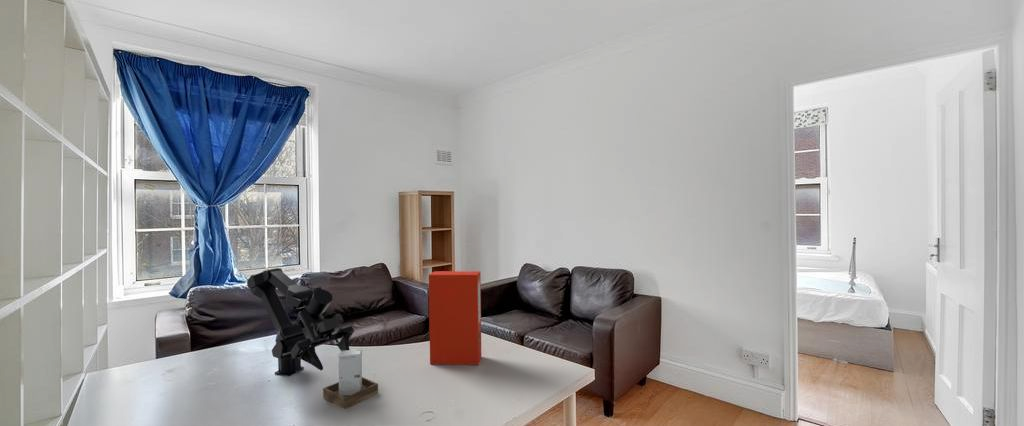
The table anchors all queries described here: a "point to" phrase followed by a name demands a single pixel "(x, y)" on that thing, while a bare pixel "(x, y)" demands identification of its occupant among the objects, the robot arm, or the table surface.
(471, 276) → the file binder
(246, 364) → the table surface
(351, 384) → the skincare box
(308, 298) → the robot arm
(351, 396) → the shallow wooden tray
